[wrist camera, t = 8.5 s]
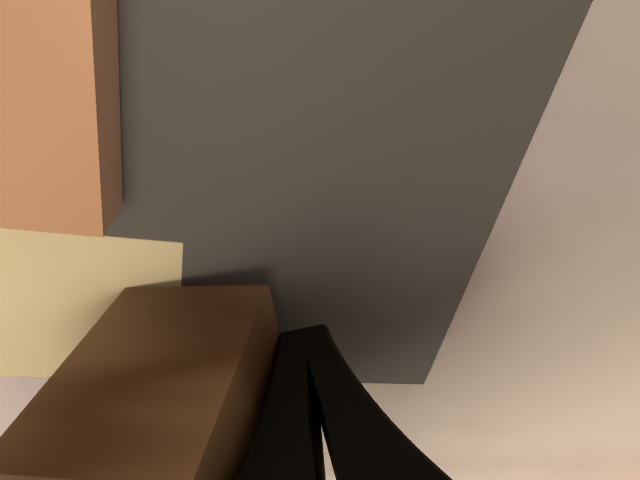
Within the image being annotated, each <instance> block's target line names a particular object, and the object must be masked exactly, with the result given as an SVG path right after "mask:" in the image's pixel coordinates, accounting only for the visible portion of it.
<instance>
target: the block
mask: <svg viewBox="0 0 640 480" xmlns="http://www.w3.org/2000/svg"><path fill="white" fill-rule="evenodd" d="M279 335H280V329H279V325H278V321H277V317H276V313H275V309H274V305H273V301H272V297H271V293H270V289H269V285H222V286H177V287H131V288H125V289H124V290H123V291H122V292H121V293H120V295H119V296H118V297H117V298H116V299H115V301H114V302H113V303H112V304H111V305H110V307H109V308H108V309H107V310H106V311H105V313H104V314H103V315H102V316H101V317H100V319H99V320H98V321H97V322H96V323H95V325H94V326H93V327H92V328H91V329H90V331H89V332H88V333H87V334H86V335H85V337H84V338H83V339H82V340H81V341H80V343H79V344H78V345H77V346H76V347H75V348H74V350H73V351H72V352H71V353H70V354H69V356H68V357H67V358H66V359H65V360H64V362H63V363H62V364H61V365H60V366H59V368H58V369H57V370H56V371H55V372H54V374H53V375H52V376H51V377H50V378H49V380H48V381H47V382H46V383H45V384H44V386H43V387H42V388H41V389H40V390H39V392H38V393H37V394H36V395H35V396H34V398H33V399H32V400H31V401H30V402H29V404H28V405H27V406H26V407H25V408H24V410H23V411H22V412H21V413H20V414H19V416H18V417H17V418H16V419H15V420H14V422H13V423H12V424H11V425H10V426H9V427H8V429H7V430H6V431H5V432H4V433H3V435H2V436H1V437H0V480H234V479H235V477H236V475H237V473H238V471H239V468H240V466H241V464H242V462H243V459H244V457H245V455H246V452H247V450H248V447H249V445H250V442H251V440H252V437H253V435H254V432H255V429H256V426H257V423H258V420H259V417H260V415H261V412H262V409H263V406H264V403H265V399H266V396H267V392H268V389H269V385H270V381H271V378H272V374H273V369H274V365H275V360H276V354H277V348H278V338H279Z"/></svg>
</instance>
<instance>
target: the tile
mask: <svg viewBox="0 0 640 480" xmlns="http://www.w3.org/2000/svg"><path fill="white" fill-rule="evenodd" d="M122 205H123V193H122V159H121V124H120V89H119V54H118V19H117V0H0V228H3V229H15V230H26V231H37V232H48V233H59V234H71V235H82V236H93V237H104V235H105V234H106V232H107V230H108V229H109V227H110V225H111V223H112V222H113V220H114V218H115V217H116V215H117V213H118V212H119V210H120V208H121V206H122Z"/></svg>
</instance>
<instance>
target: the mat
mask: <svg viewBox="0 0 640 480" xmlns="http://www.w3.org/2000/svg"><path fill="white" fill-rule="evenodd" d="M592 1H593V0H117V19H118V54H119V89H120V124H121V159H122V193H123V205H122V206H121V208H120V210H119V212H118V213H117V215H116V217H115V218H114V220H113V222H112V223H111V225H110V227H109V229H108V230H107V232H106V234H105V235H104V237H93V236H82V235H71V234H59V233H48V232H37V231H26V230H15V229H3V228H0V376H17V377H51V376H52V375H53V374H54V372H55V371H56V370H57V369H58V368H59V366H60V365H61V364H62V363H63V362H64V360H65V359H66V358H67V357H68V356H69V354H70V353H71V352H72V351H73V350H74V348H75V347H76V346H77V345H78V344H79V343H80V341H81V340H82V339H83V338H84V337H85V335H86V334H87V333H88V332H89V331H90V329H91V328H92V327H93V326H94V325H95V323H96V322H97V321H98V320H99V319H100V317H101V316H102V315H103V314H104V313H105V311H106V310H107V309H108V308H109V307H110V305H111V304H112V303H113V302H114V301H115V299H116V298H117V297H118V296H119V295H120V293H121V292H122V291H123V290H124V289H125V288H131V287H177V286H222V285H269V289H270V293H271V297H272V301H273V305H274V309H275V313H276V317H277V321H278V325H279V329H280V334H281V333H282V332H286V331H291V330H296V329H301V328H306V327H310V326H315V325H320V324H324V325H326V326H328V329H329V332H330V334H331V336H332V338H333V340H334V342H335V344H336V346H337V348H338V350H339V351H340V353H341V355H342V356H343V358H344V359H345V361H346V363H347V364H348V366H349V367H350V369H351V370H352V371H353V373H354V374H355V376H356V377H357V378H358V380H359V381H360V383H391V384H424V383H425V380H426V378H427V376H428V373H429V371H430V369H431V367H432V364H433V362H434V360H435V358H436V355H437V353H438V351H439V348H440V346H441V344H442V342H443V339H444V337H445V335H446V333H447V330H448V328H449V326H450V323H451V321H452V319H453V317H454V314H455V312H456V310H457V308H458V305H459V303H460V301H461V298H462V296H463V294H464V292H465V289H466V287H467V285H468V283H469V280H470V278H471V276H472V273H473V271H474V269H475V267H476V264H477V262H478V260H479V258H480V255H481V253H482V251H483V249H484V246H485V244H486V242H487V239H488V237H489V235H490V233H491V230H492V228H493V226H494V224H495V221H496V219H497V217H498V214H499V212H500V210H501V208H502V205H503V203H504V201H505V199H506V196H507V194H508V192H509V189H510V187H511V185H512V183H513V180H514V178H515V176H516V174H517V171H518V169H519V167H520V164H521V162H522V160H523V158H524V155H525V153H526V151H527V149H528V146H529V144H530V142H531V140H532V137H533V135H534V133H535V130H536V128H537V126H538V124H539V121H540V119H541V117H542V115H543V112H544V110H545V108H546V105H547V103H548V101H549V99H550V96H551V94H552V92H553V90H554V87H555V85H556V83H557V80H558V78H559V76H560V74H561V71H562V69H563V67H564V65H565V62H566V60H567V58H568V55H569V53H570V51H571V49H572V46H573V44H574V42H575V40H576V37H577V35H578V33H579V30H580V28H581V26H582V24H583V21H584V19H585V17H586V15H587V12H588V10H589V8H590V6H591V3H592Z"/></svg>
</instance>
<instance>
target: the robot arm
mask: <svg viewBox="0 0 640 480" xmlns="http://www.w3.org/2000/svg"><path fill="white" fill-rule="evenodd" d="M321 426H322V430H323V433H324V437H325V441H326V444H327V448H328V452H329V455H330V459H331V463H332V466H333V470H334V474H335V477H336V480H452V479H451V478H450V477H449V476H448V475H447V474H446V473H444V472H443V471H442V470H441V469H440V468H439V467H438V466H437V465H436V464H435V463H433V462H432V461H431V460H430V459H429V458H428V457H427V456H426V455H425V454H424V453H422V452H421V451H420V450H419V449H418V448H417V447H416V446H415V445H414V444H413V443H412V442H411V441H410V440H409V439H408V438H407V437H406V436H405V435H404V434H403V433H402V431H401V430H400V429H399V428H398V427H397V426H396V425H395V424H394V423H393V422H392V421H391V420H390V418H389V417H388V416H387V415H386V414H385V413H384V412H383V410H382V409H381V408H380V407H379V406H378V404H377V403H376V402H375V401H374V399H373V398H372V397H371V396H370V395H369V393H368V392H367V391H366V389H365V388H364V387H363V385H362V384H361V383H360V381H359V380H358V378H357V377H356V376H355V374H354V373H353V371H352V370H351V369H350V367H349V366H348V364H347V363H346V361H345V359H344V358H343V356H342V355H341V353H340V351H339V350H338V348H337V346H336V344H335V342H334V340H333V338H332V336H331V334H330V332H329V329H328V326H326V325H324V324H320V325H315V326H310V327H306V328H301V329H296V330H291V331H286V332H282V333H281V334H280V335H279V338H278V348H277V354H276V360H275V365H274V369H273V374H272V378H271V381H270V385H269V389H268V392H267V396H266V399H265V403H264V406H263V409H262V412H261V415H260V417H259V420H258V423H257V426H256V429H255V432H254V435H253V437H252V440H251V442H250V445H249V447H248V450H247V452H246V455H245V457H244V459H243V462H242V464H241V466H240V468H239V471H238V473H237V475H236V477H235V479H234V480H326V479H325V467H324V455H323V443H322V431H321Z"/></svg>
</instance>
